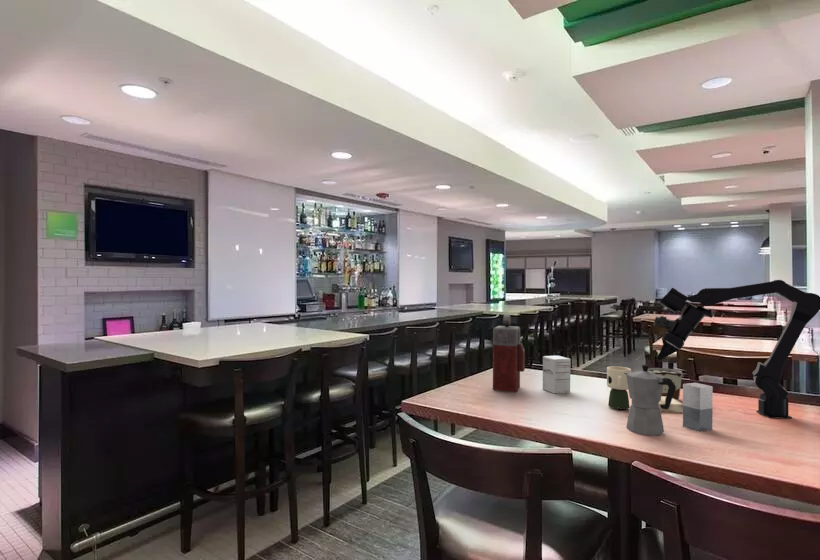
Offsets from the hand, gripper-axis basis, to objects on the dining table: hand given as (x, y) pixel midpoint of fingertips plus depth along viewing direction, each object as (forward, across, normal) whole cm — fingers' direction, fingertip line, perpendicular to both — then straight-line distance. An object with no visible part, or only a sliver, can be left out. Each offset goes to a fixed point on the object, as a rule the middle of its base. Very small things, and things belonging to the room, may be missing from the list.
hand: (659, 357), depth 157 cm
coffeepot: (+12, +39, +8) cm, 42 cm away
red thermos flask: (+39, +13, -33) cm, 53 cm away
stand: (+12, +10, +9) cm, 18 cm away
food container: (+13, -6, +8) cm, 16 cm away
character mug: (+18, +19, 0) cm, 26 cm away
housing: (+6, +28, +18) cm, 34 cm away
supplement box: (+31, +6, -20) cm, 37 cm away
